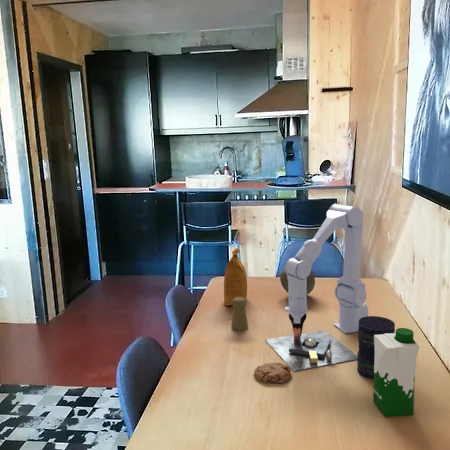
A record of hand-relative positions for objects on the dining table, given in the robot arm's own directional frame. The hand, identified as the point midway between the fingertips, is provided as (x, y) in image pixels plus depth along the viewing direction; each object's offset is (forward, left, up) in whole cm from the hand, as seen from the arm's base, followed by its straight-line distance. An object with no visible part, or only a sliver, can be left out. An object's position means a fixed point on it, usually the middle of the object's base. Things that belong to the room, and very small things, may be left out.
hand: (297, 335), depth 146 cm
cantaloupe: (-20, -41, -4) cm, 46 cm away
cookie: (+15, +15, -4) cm, 22 cm away
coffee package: (+6, -45, -4) cm, 45 cm away
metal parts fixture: (-1, +6, -3) cm, 6 cm away
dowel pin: (-4, +13, -3) cm, 14 cm away
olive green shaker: (+13, -20, -4) cm, 24 cm away
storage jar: (-13, +23, -4) cm, 27 cm away
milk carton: (-7, +39, -4) cm, 40 cm away
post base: (-2, +4, -3) cm, 6 cm away
